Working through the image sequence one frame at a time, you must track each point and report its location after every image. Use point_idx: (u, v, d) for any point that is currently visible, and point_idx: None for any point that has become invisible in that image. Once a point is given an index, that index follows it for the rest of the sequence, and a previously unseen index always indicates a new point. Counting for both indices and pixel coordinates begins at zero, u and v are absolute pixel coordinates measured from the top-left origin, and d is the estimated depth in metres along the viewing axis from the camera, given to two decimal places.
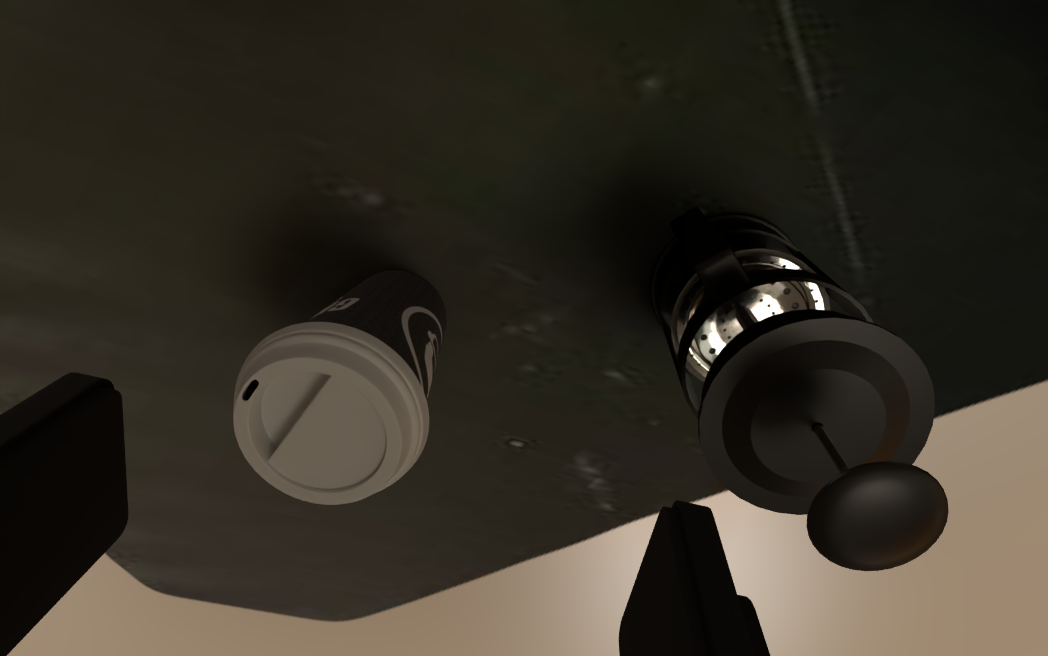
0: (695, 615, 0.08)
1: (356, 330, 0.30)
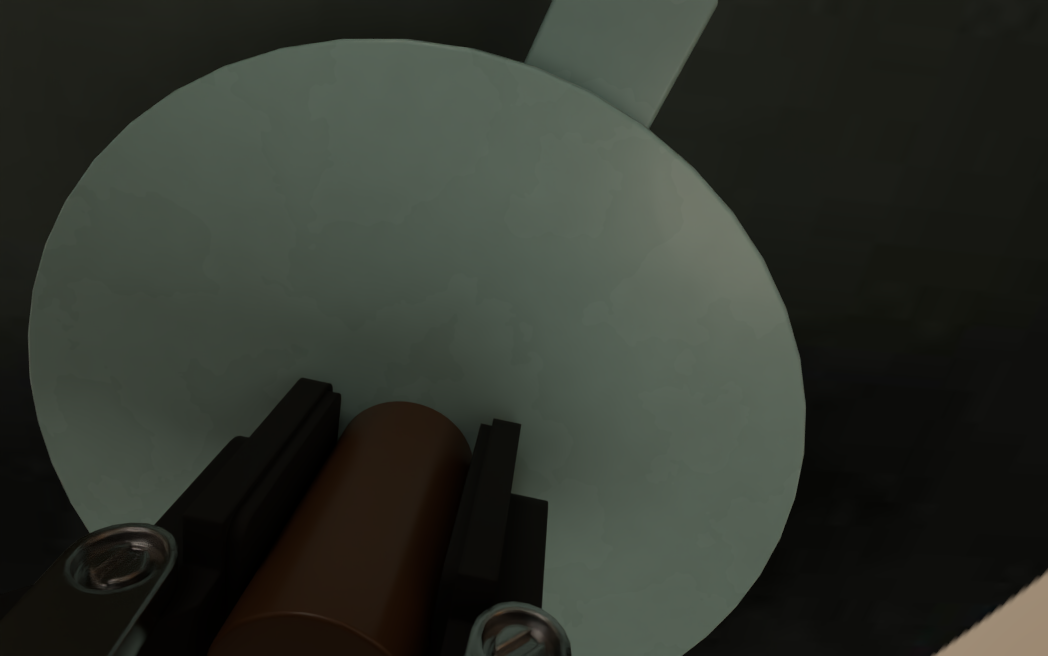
0: (467, 500, 0.09)
1: None
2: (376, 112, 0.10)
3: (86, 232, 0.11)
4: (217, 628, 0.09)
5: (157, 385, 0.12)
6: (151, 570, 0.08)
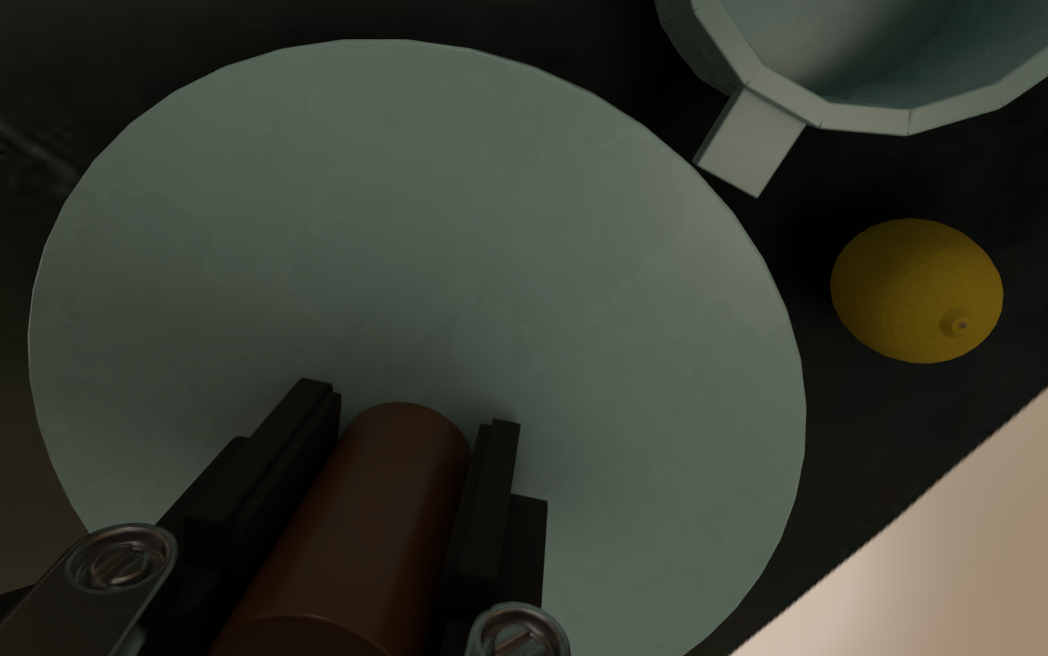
0: (467, 500, 0.09)
1: None
2: (376, 113, 0.10)
3: (86, 233, 0.11)
4: (218, 628, 0.09)
5: (158, 386, 0.12)
6: (152, 570, 0.08)
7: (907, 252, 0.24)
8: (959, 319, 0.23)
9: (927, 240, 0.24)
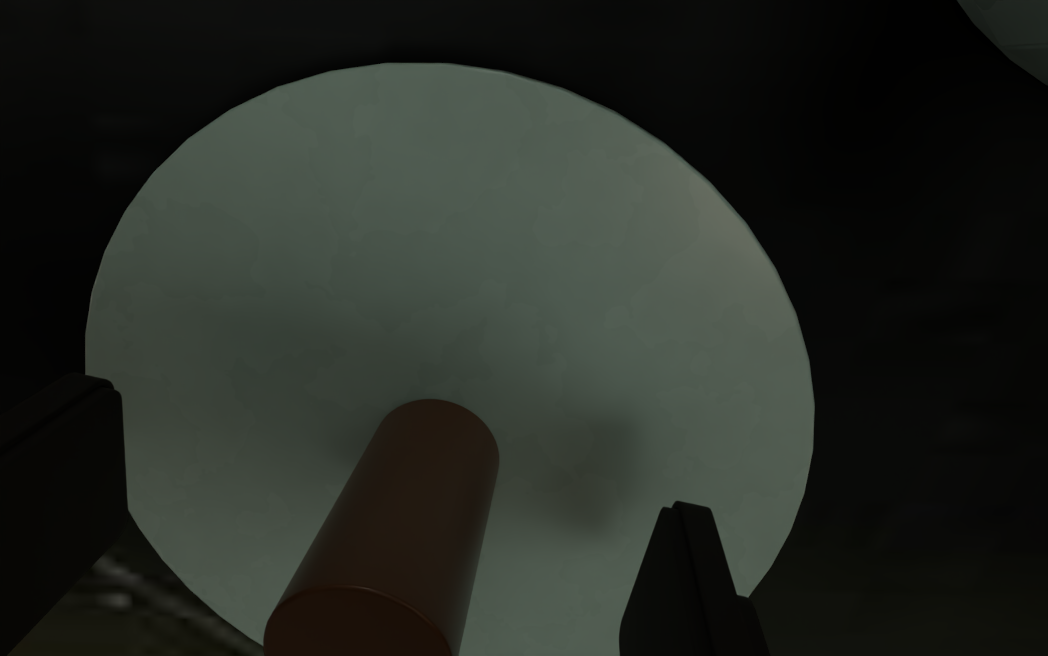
0: (694, 615, 0.08)
1: None
2: (415, 130, 0.11)
3: (143, 239, 0.12)
4: None
5: (205, 383, 0.13)
6: None
7: None
8: None
9: None
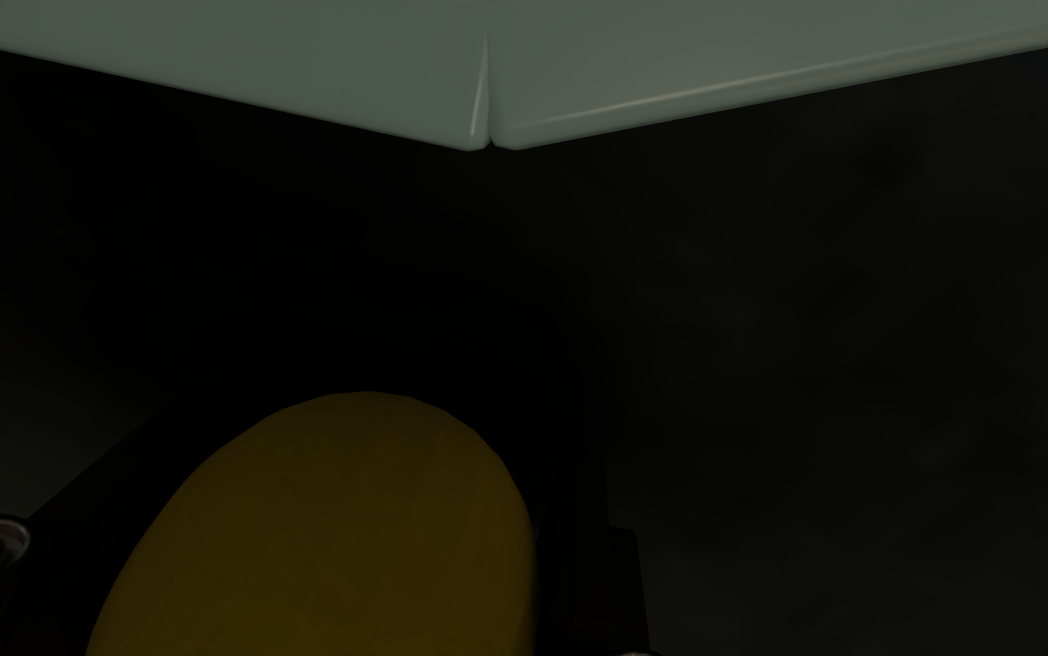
0: (566, 535, 0.09)
1: None
2: None
3: None
4: (91, 624, 0.08)
5: None
6: None
7: (243, 558, 0.07)
8: None
9: (331, 549, 0.07)
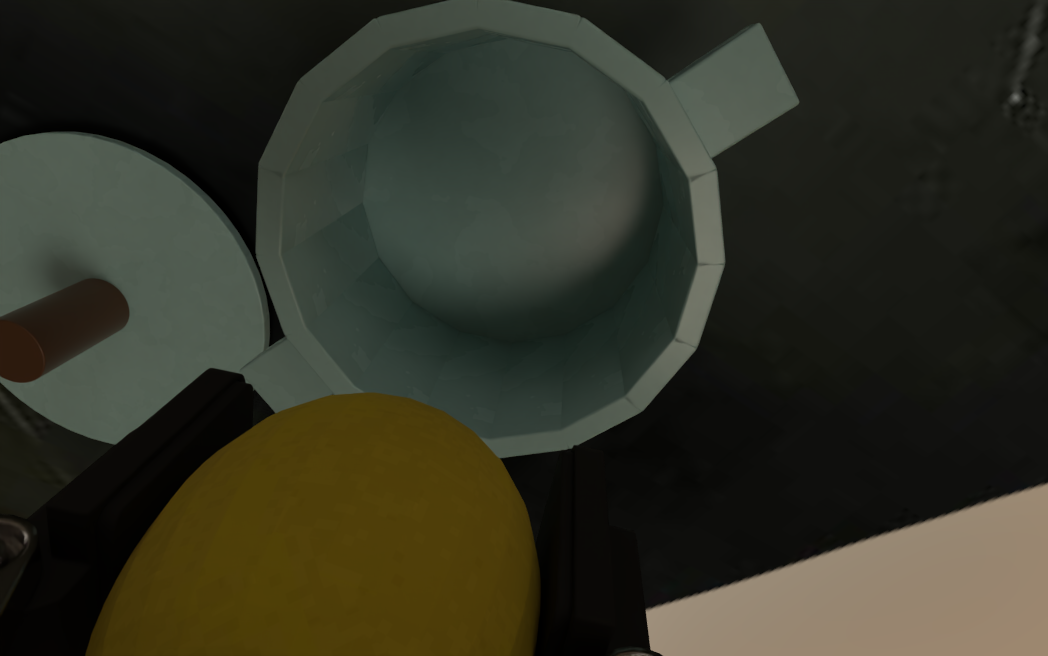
0: (565, 535, 0.09)
1: None
2: (140, 180, 0.26)
3: (5, 157, 0.26)
4: (91, 624, 0.08)
5: (6, 225, 0.28)
6: None
7: (244, 561, 0.07)
8: None
9: (331, 551, 0.07)
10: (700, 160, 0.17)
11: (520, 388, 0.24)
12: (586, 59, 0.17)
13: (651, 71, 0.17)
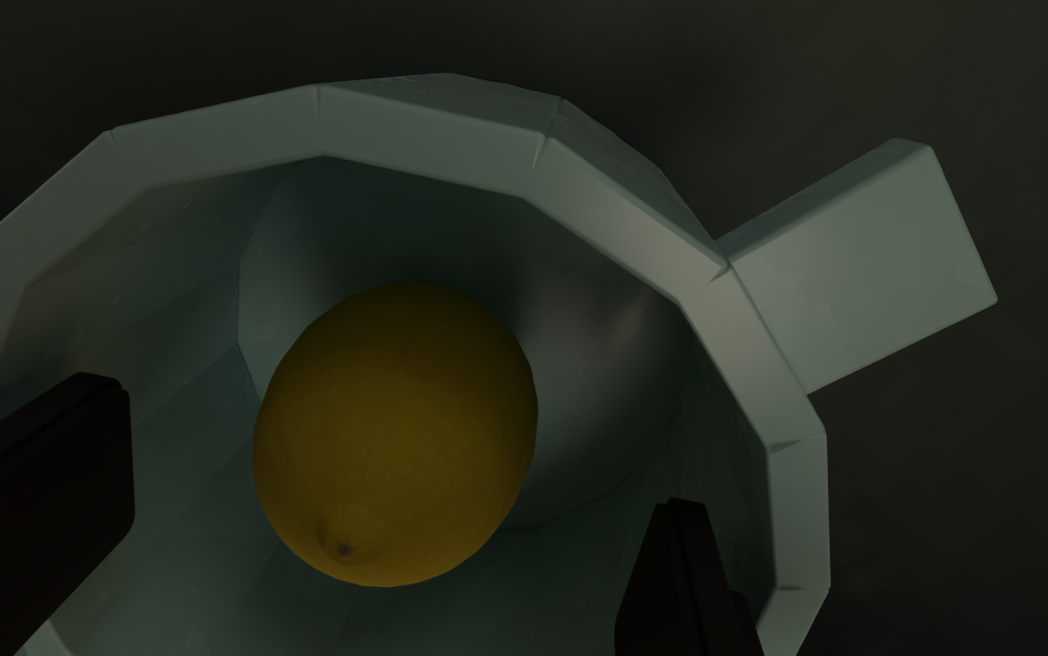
0: (687, 610, 0.08)
1: None
2: None
3: None
4: None
5: None
6: None
7: (362, 348, 0.11)
8: (340, 535, 0.10)
9: (412, 345, 0.11)
10: (793, 416, 0.08)
11: None
12: (559, 222, 0.08)
13: (698, 249, 0.08)
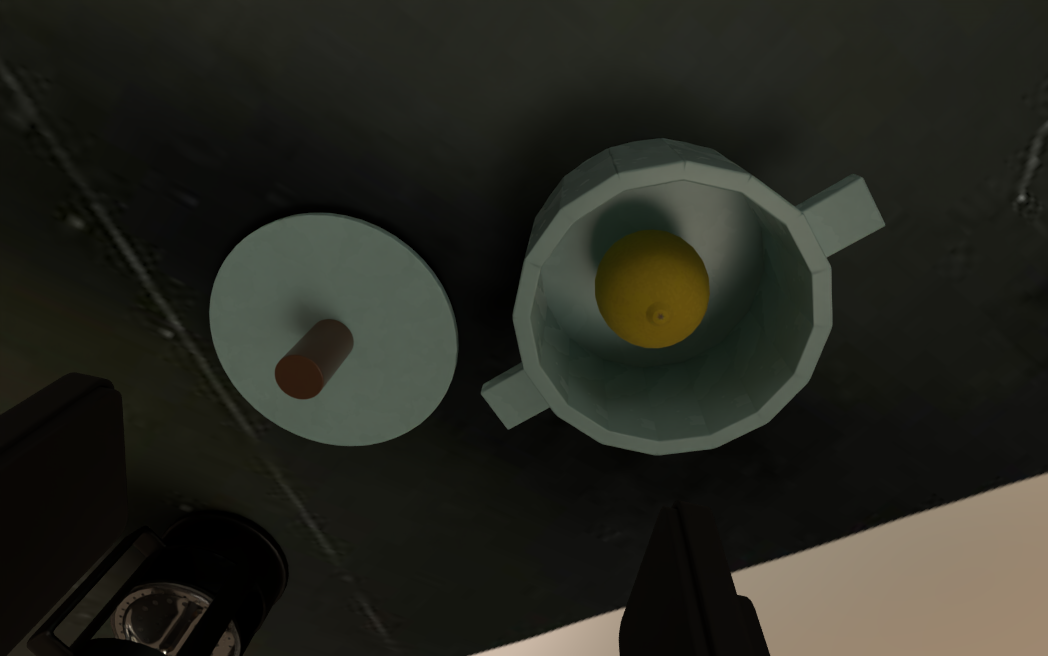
0: (695, 615, 0.08)
1: None
2: (376, 249, 0.36)
3: (276, 231, 0.36)
4: None
5: (268, 280, 0.37)
6: None
7: (655, 249, 0.29)
8: (660, 311, 0.28)
9: (673, 249, 0.29)
10: (821, 262, 0.27)
11: (665, 404, 0.34)
12: (752, 200, 0.26)
13: (793, 208, 0.26)
